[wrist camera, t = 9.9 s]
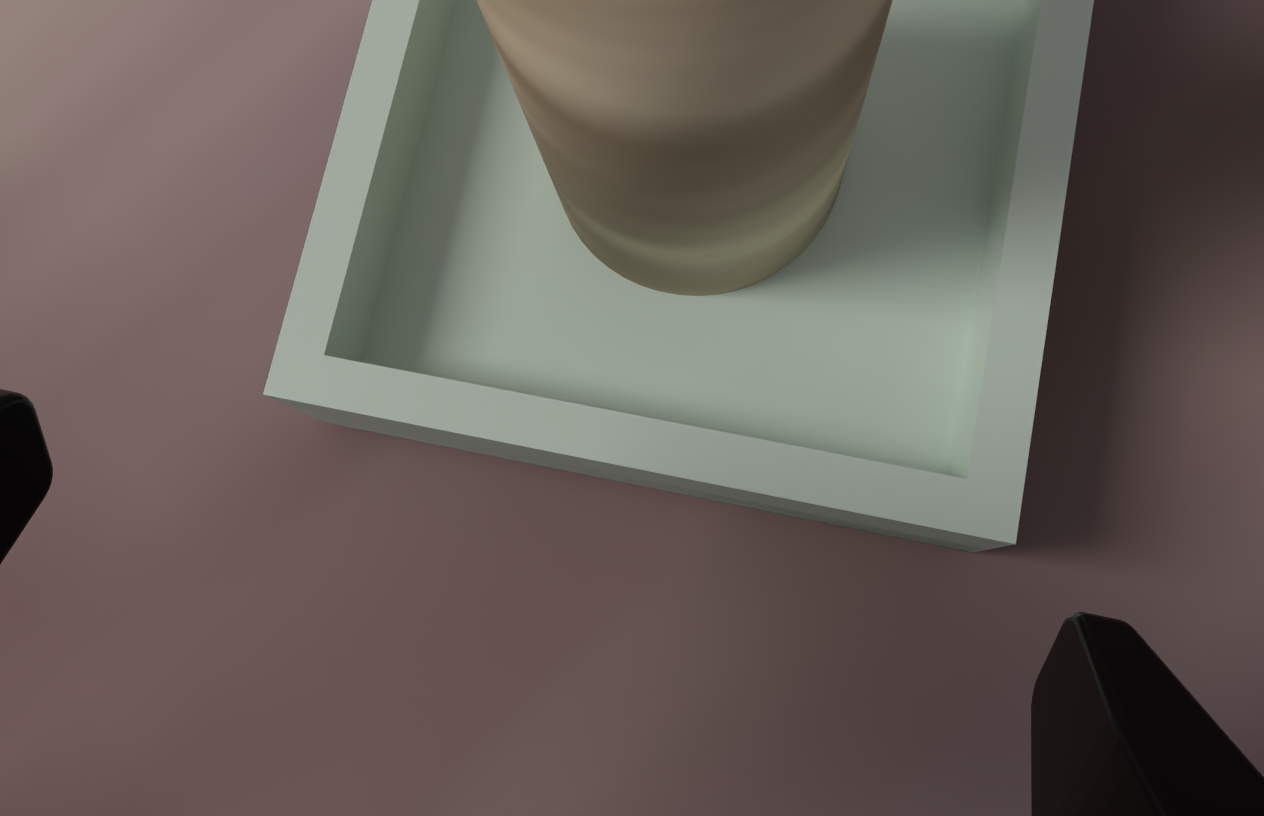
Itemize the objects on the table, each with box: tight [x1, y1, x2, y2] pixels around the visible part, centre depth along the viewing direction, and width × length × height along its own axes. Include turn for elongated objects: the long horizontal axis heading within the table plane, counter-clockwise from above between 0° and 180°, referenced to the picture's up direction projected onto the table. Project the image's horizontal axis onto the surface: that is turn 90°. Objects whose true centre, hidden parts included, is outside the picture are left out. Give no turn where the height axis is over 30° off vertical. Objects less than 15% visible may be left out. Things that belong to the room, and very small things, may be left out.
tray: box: [263, 0, 1094, 553], centre depth 17 cm, size 12×12×2 cm
